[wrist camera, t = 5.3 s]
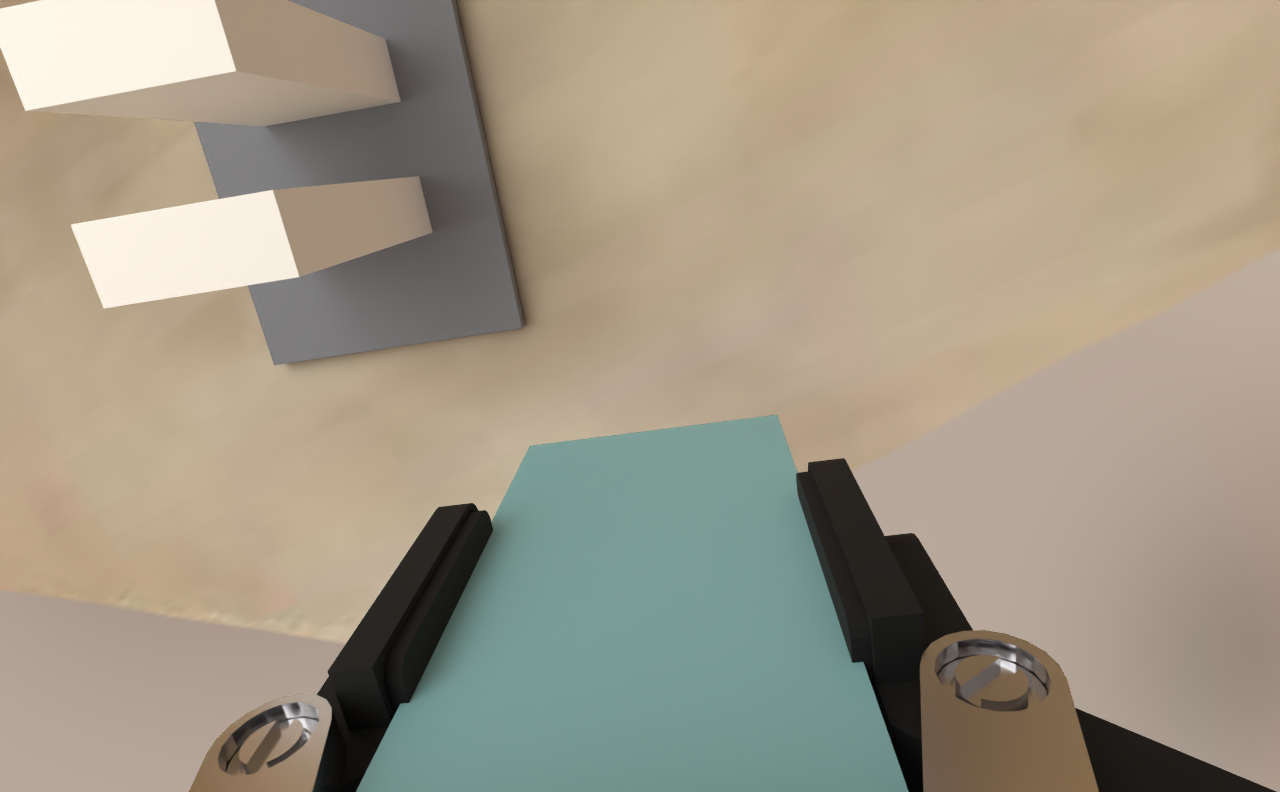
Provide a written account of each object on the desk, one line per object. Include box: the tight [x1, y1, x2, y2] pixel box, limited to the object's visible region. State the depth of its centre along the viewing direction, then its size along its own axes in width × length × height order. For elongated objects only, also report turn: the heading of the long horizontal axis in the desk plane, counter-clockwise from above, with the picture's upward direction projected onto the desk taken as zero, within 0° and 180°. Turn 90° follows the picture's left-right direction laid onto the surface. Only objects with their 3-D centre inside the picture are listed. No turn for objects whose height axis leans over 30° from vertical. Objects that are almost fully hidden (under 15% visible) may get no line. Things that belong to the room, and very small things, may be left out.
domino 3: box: [356, 415, 909, 792], centre depth 10 cm, size 5×2×10 cm, turn 99°
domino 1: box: [0, 0, 401, 126], centre depth 20 cm, size 5×2×10 cm, turn 99°
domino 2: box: [71, 176, 433, 308], centre depth 22 cm, size 5×2×10 cm, turn 99°
